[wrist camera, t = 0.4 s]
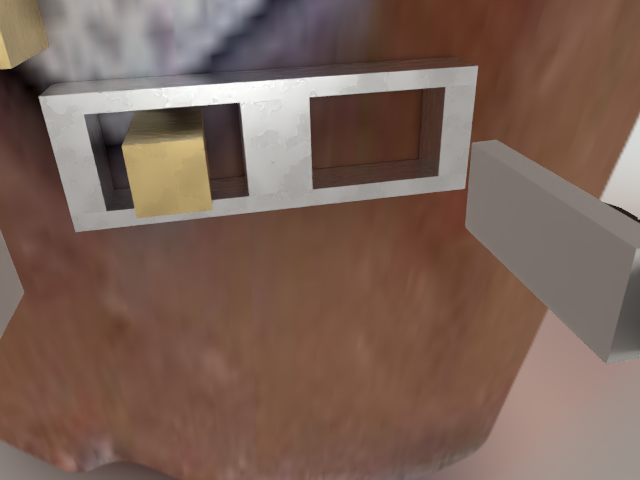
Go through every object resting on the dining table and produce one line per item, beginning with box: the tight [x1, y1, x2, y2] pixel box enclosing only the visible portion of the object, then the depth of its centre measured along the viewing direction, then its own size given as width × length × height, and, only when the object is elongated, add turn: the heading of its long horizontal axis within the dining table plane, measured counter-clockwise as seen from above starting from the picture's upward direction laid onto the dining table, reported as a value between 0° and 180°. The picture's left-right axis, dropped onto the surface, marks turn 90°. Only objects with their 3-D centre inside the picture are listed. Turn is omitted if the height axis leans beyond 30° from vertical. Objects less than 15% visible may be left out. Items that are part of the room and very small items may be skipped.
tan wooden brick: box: [122, 106, 213, 218], centre depth 35 cm, size 4×4×8 cm
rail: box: [39, 57, 478, 232], centre depth 38 cm, size 9×28×4 cm, turn 92°
